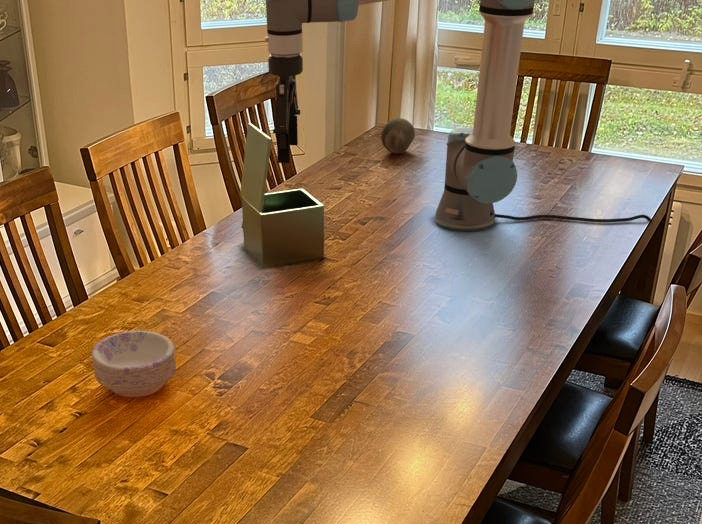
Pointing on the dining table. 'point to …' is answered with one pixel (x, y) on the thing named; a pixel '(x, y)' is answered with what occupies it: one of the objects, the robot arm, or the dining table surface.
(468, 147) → the robot arm
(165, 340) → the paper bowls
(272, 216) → the trash can
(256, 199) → the bin lid
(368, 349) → the dining table surface
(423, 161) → the dining table surface
